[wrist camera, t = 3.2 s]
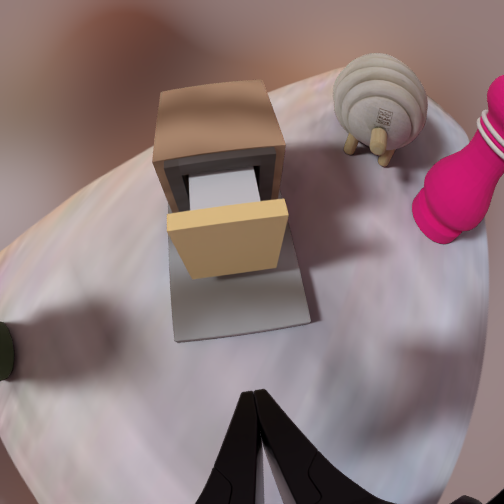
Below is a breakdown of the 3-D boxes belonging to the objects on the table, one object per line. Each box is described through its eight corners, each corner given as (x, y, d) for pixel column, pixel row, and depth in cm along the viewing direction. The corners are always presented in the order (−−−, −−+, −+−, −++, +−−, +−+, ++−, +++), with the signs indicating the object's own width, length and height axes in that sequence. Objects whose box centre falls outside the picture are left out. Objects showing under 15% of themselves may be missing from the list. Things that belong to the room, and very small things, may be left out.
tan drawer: (276, 267, 20) (288, 214, 14) (192, 279, 20) (167, 231, 14) (252, 155, 25) (253, 91, 18) (186, 163, 24) (171, 102, 18)
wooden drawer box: (308, 324, 21) (347, 285, 13) (177, 342, 20) (129, 316, 12) (266, 149, 29) (271, 73, 20) (171, 161, 28) (150, 88, 19)
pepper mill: (431, 182, 28) (514, 47, 9) (468, 232, 25) (576, 111, 7) (395, 203, 26) (491, 34, 8) (436, 260, 23) (575, 117, 5)
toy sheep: (398, 115, 33) (424, 53, 23) (411, 208, 26) (465, 134, 16) (328, 93, 34) (343, 25, 24) (315, 180, 27) (342, 86, 17)
